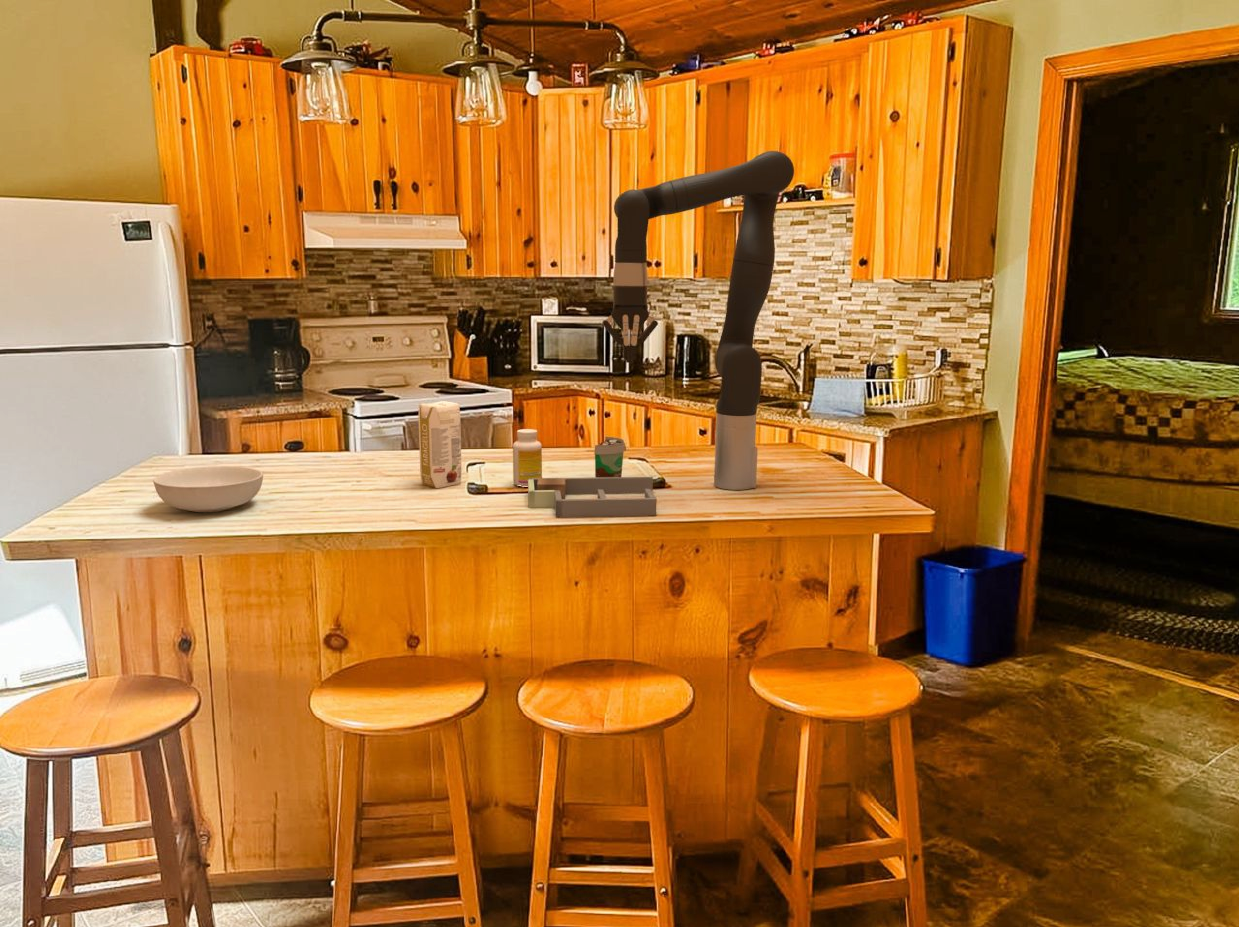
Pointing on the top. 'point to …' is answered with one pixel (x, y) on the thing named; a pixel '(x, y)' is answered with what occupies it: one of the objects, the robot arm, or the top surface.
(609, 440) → the food container
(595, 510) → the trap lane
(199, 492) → the serving bowl
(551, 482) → the walnut block
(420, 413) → the juice carton
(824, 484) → the top surface
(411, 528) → the top surface
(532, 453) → the supplement bottle
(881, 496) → the top surface
